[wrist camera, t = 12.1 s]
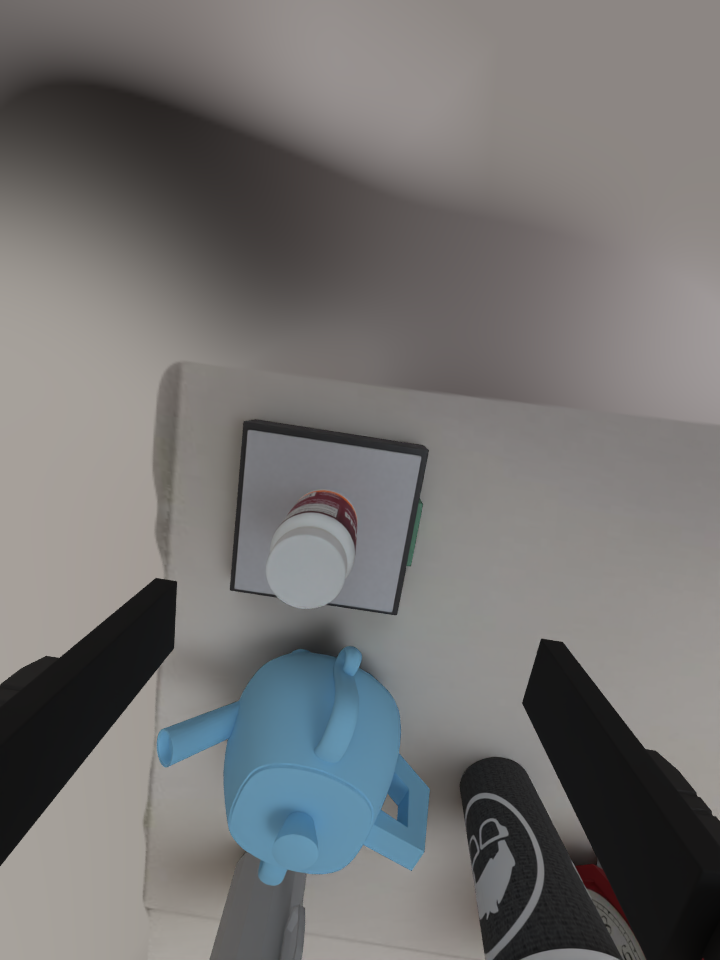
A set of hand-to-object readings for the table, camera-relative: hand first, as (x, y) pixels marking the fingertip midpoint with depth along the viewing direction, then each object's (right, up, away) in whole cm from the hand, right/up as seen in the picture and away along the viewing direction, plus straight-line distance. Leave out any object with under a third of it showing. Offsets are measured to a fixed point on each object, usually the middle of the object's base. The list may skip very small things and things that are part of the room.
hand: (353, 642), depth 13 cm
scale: (-2, +3, +16) cm, 17 cm away
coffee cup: (+13, -23, +22) cm, 34 cm away
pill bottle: (-2, +3, +13) cm, 14 cm away
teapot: (-4, -13, +20) cm, 24 cm away
